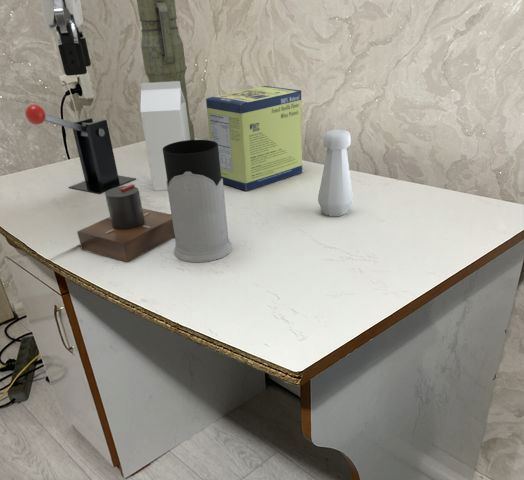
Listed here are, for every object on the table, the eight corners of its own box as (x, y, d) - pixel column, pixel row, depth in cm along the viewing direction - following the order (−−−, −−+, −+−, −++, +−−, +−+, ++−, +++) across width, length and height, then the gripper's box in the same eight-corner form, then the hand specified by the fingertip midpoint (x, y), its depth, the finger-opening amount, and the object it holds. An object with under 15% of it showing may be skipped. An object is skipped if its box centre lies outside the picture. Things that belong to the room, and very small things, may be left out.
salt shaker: (312, 209, 92) (312, 129, 85) (342, 203, 93) (344, 125, 86) (327, 220, 87) (328, 137, 80) (358, 214, 89) (362, 132, 81)
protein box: (303, 172, 110) (302, 89, 101) (246, 192, 101) (240, 103, 93) (269, 163, 116) (265, 84, 107) (212, 181, 108) (203, 97, 99)
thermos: (169, 164, 120) (140, -26, 100) (151, 154, 128) (121, -24, 108) (205, 157, 123) (184, -29, 103) (185, 147, 132) (162, -26, 112)
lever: (32, 122, 90) (33, 102, 89) (20, 121, 92) (22, 101, 91) (101, 142, 103) (103, 124, 102) (90, 140, 104) (92, 123, 103)
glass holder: (169, 263, 77) (151, 156, 69) (186, 225, 89) (172, 130, 80) (229, 261, 77) (218, 153, 68) (238, 224, 88) (230, 128, 80)
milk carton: (191, 193, 102) (176, 84, 92) (154, 195, 103) (135, 86, 92) (195, 182, 108) (182, 78, 97) (161, 184, 109) (144, 80, 98)
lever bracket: (100, 199, 103) (84, 129, 95) (69, 193, 107) (51, 125, 100) (137, 184, 109) (124, 117, 102) (107, 178, 114) (92, 114, 106)
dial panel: (127, 262, 78) (122, 242, 77) (81, 249, 83) (76, 230, 81) (180, 233, 86) (178, 214, 85) (136, 223, 91) (132, 205, 89)
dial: (128, 231, 80) (121, 196, 77) (105, 225, 83) (97, 191, 80) (151, 220, 84) (145, 186, 81) (128, 215, 86) (121, 182, 83)
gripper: (28, -61, 81) (60, 66, 91) (7, -71, 67) (47, 80, 77) (79, -64, 82) (105, 62, 92) (69, -74, 68) (100, 75, 78)
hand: (79, 70), depth 84 cm, fingers open, 9 cm apart
